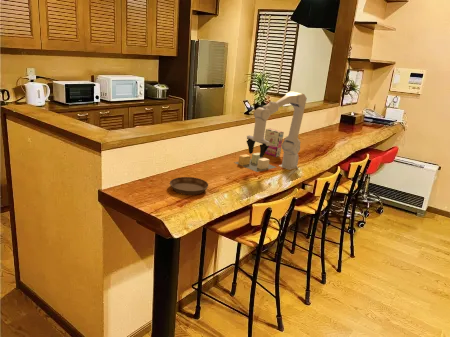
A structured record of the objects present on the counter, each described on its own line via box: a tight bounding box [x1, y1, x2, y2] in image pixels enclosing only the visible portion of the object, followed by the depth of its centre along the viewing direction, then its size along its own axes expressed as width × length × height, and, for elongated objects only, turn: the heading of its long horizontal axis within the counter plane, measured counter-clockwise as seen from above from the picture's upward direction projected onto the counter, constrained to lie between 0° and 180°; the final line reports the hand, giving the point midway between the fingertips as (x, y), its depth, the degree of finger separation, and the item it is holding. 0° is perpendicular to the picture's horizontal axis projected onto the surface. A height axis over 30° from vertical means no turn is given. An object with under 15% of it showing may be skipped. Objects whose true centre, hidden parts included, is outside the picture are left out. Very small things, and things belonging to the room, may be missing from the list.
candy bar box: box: [264, 128, 284, 158], centre depth 239 cm, size 11×5×16 cm, turn 47°
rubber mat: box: [233, 158, 277, 173], centre depth 215 cm, size 18×18×1 cm
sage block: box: [250, 152, 264, 164], centre depth 220 cm, size 6×4×5 cm, turn 135°
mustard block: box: [237, 153, 252, 166], centre depth 214 cm, size 6×4×5 cm, turn 135°
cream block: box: [257, 157, 270, 169], centre depth 211 cm, size 6×4×5 cm, turn 135°
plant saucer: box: [169, 176, 209, 196], centre depth 170 cm, size 18×18×3 cm
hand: (256, 155), depth 200 cm, fingers open, 7 cm apart
